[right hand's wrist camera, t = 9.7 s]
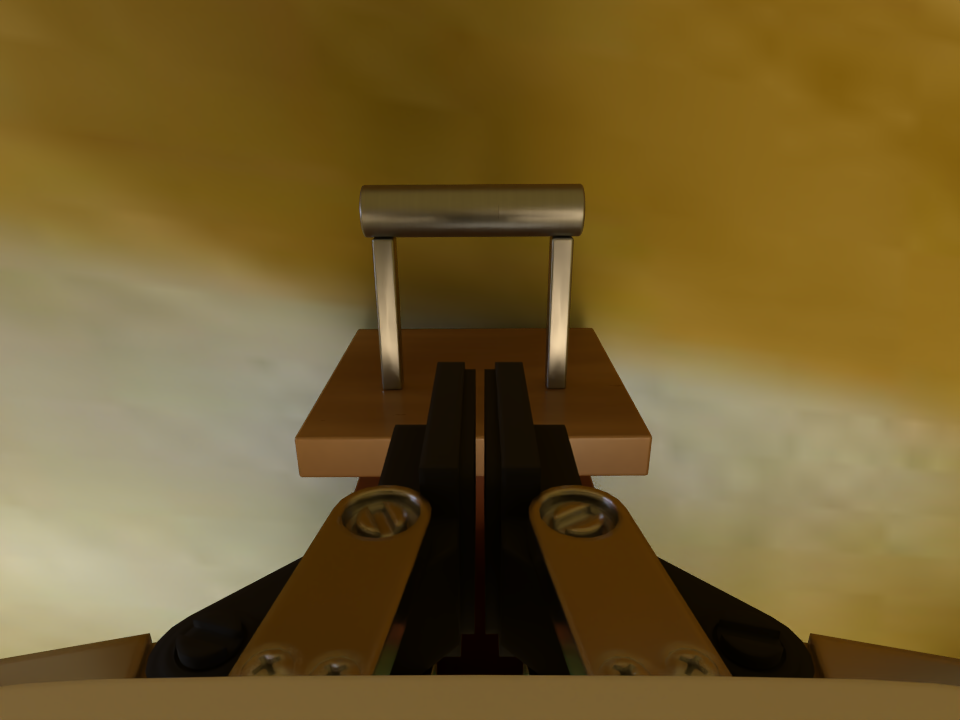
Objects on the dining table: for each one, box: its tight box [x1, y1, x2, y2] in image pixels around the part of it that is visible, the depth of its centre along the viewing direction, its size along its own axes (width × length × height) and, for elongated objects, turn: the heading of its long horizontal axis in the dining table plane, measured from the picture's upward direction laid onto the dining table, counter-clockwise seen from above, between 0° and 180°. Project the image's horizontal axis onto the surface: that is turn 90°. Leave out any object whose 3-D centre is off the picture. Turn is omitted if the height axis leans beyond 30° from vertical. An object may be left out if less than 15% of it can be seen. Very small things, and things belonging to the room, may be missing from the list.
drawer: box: [295, 184, 652, 675], centre depth 22 cm, size 24×9×9 cm, turn 0°
